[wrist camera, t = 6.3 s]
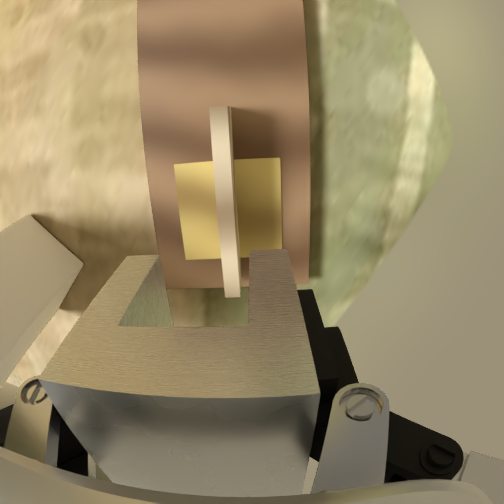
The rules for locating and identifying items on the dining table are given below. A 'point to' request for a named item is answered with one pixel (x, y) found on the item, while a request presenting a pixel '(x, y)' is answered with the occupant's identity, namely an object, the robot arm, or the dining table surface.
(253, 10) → the rail board
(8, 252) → the milk carton
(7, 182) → the dining table surface
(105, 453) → the notched grey block
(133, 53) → the dining table surface
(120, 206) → the dining table surface
